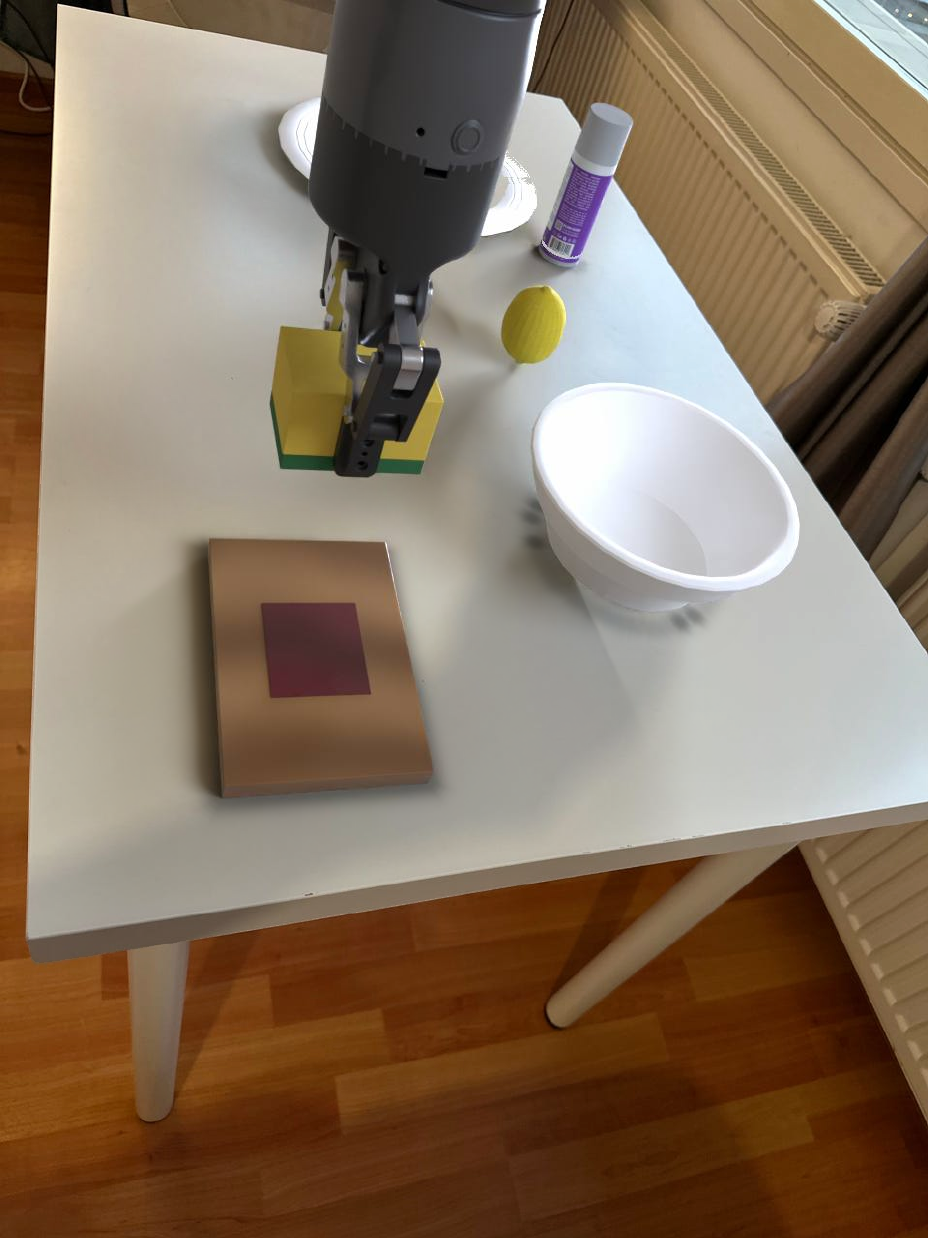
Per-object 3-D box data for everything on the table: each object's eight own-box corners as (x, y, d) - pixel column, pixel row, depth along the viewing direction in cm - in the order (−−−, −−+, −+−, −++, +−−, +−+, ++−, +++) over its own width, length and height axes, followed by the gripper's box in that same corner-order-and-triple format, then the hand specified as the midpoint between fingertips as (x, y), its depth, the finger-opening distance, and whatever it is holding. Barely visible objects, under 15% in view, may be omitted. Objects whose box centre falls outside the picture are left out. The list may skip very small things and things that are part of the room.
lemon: (490, 338, 83) (517, 261, 77) (546, 352, 84) (576, 278, 78) (490, 373, 80) (517, 296, 74) (548, 387, 81) (579, 312, 75)
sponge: (280, 469, 44) (292, 390, 41) (269, 403, 47) (280, 324, 43) (420, 474, 47) (444, 401, 43) (402, 412, 50) (423, 338, 46)
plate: (544, 167, 109) (549, 152, 108) (515, 284, 90) (521, 267, 89) (318, 83, 106) (320, 67, 105) (238, 186, 87) (240, 167, 86)
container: (586, 265, 97) (643, 125, 85) (555, 269, 94) (609, 126, 83) (561, 240, 99) (614, 101, 87) (530, 244, 96) (580, 101, 85)
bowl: (764, 532, 76) (818, 463, 70) (715, 706, 62) (777, 639, 56) (549, 423, 77) (583, 345, 71) (455, 569, 64) (487, 489, 58)
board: (428, 783, 53) (435, 771, 51) (222, 799, 49) (223, 786, 47) (382, 555, 63) (386, 540, 61) (207, 552, 59) (208, 536, 57)
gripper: (300, 6, 37) (259, 345, 49) (356, 186, 29) (290, 534, 42) (466, 44, 39) (387, 356, 52) (560, 218, 31) (439, 536, 44)
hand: (344, 434), depth 47 cm, fingers closed on sponge, 5 cm apart
